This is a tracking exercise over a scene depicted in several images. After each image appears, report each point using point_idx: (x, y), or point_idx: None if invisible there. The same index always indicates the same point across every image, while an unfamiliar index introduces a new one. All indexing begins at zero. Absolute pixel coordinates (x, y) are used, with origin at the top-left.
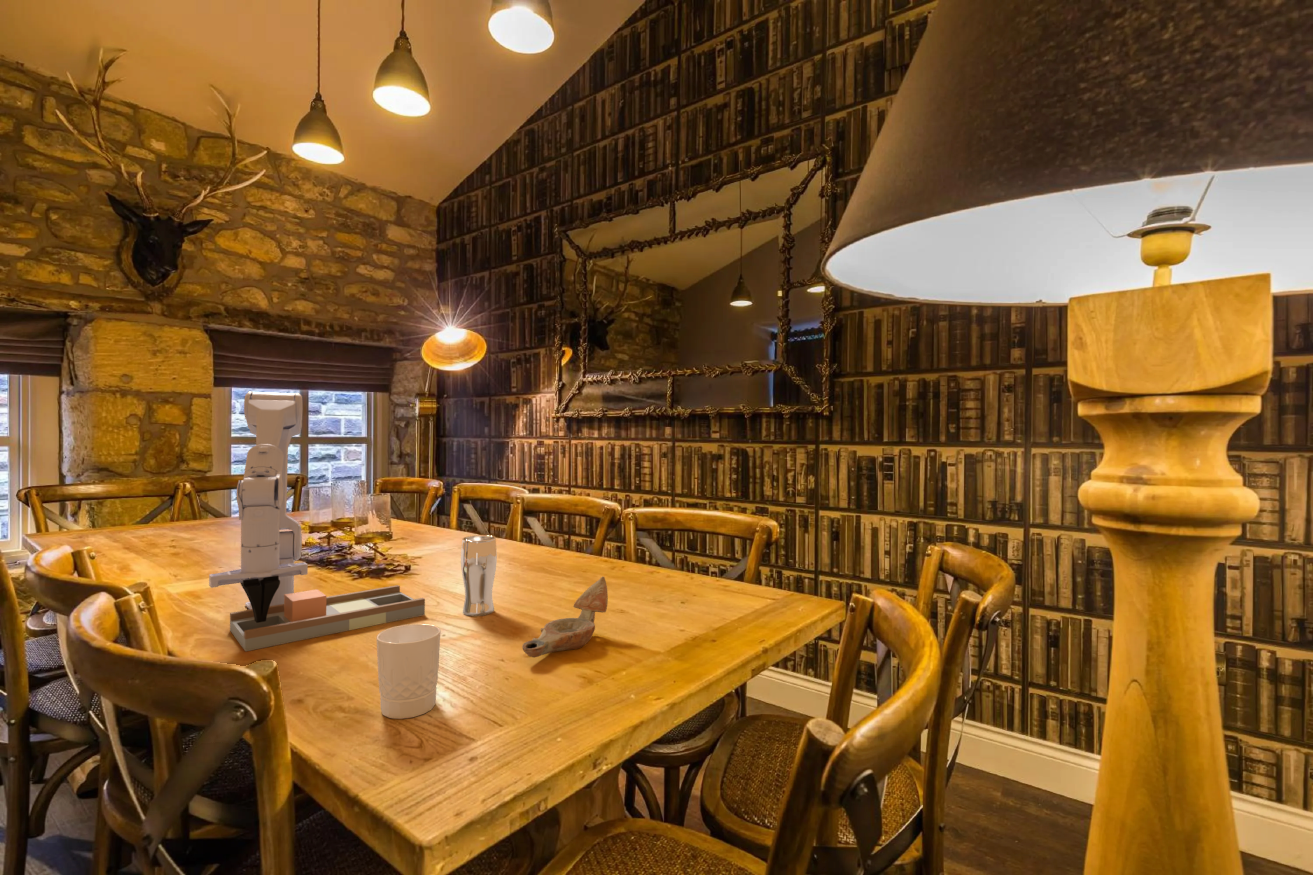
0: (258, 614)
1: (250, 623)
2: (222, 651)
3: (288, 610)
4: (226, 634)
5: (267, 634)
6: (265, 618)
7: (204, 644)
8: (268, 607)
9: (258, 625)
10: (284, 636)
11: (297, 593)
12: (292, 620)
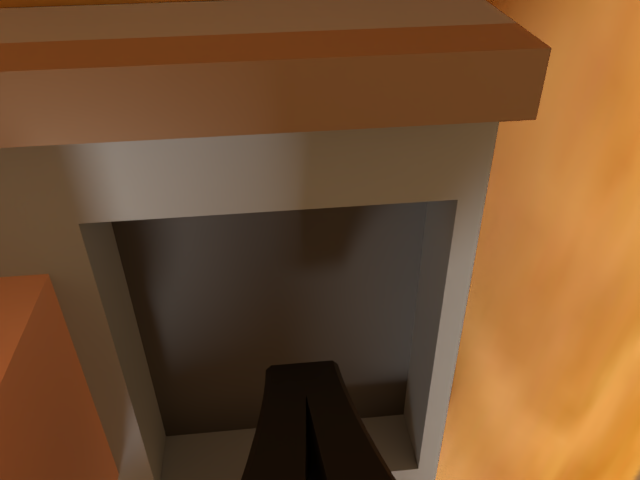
0: (338, 412)
1: None
2: (587, 116)
3: (66, 455)
4: None
5: (304, 34)
6: (272, 381)
7: (592, 321)
8: (250, 468)
9: None
10: (133, 20)
11: None
12: (40, 295)
